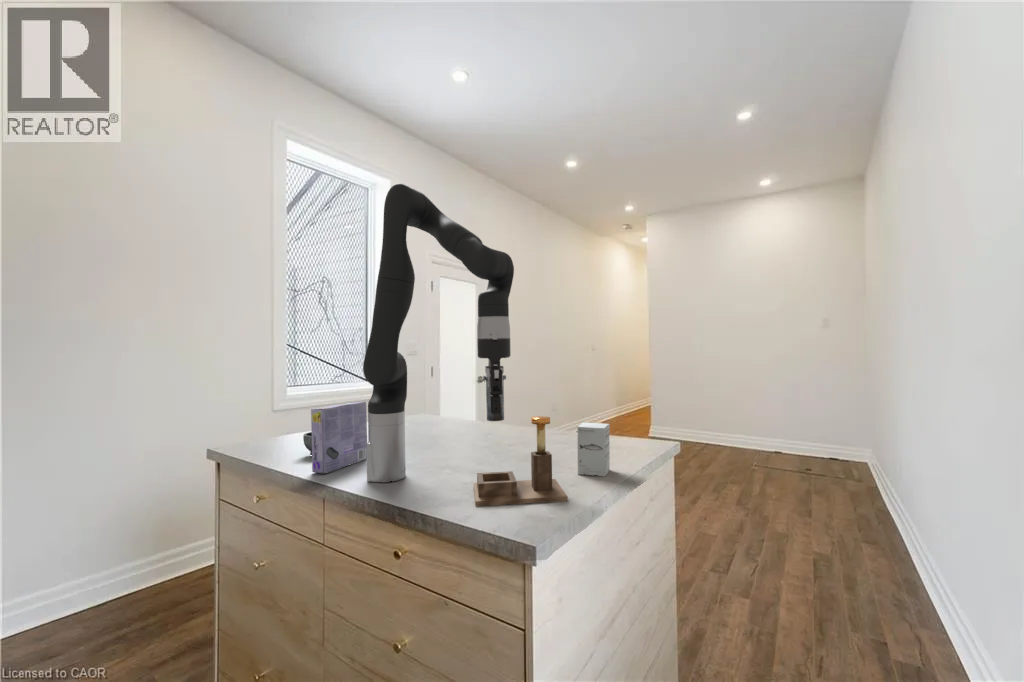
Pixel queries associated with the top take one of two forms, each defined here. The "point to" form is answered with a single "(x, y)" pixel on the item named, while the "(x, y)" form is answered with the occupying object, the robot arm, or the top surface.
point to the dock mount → (520, 485)
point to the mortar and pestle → (308, 441)
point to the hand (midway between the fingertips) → (495, 411)
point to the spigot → (488, 402)
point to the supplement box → (593, 449)
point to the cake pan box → (338, 436)
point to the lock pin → (540, 432)
